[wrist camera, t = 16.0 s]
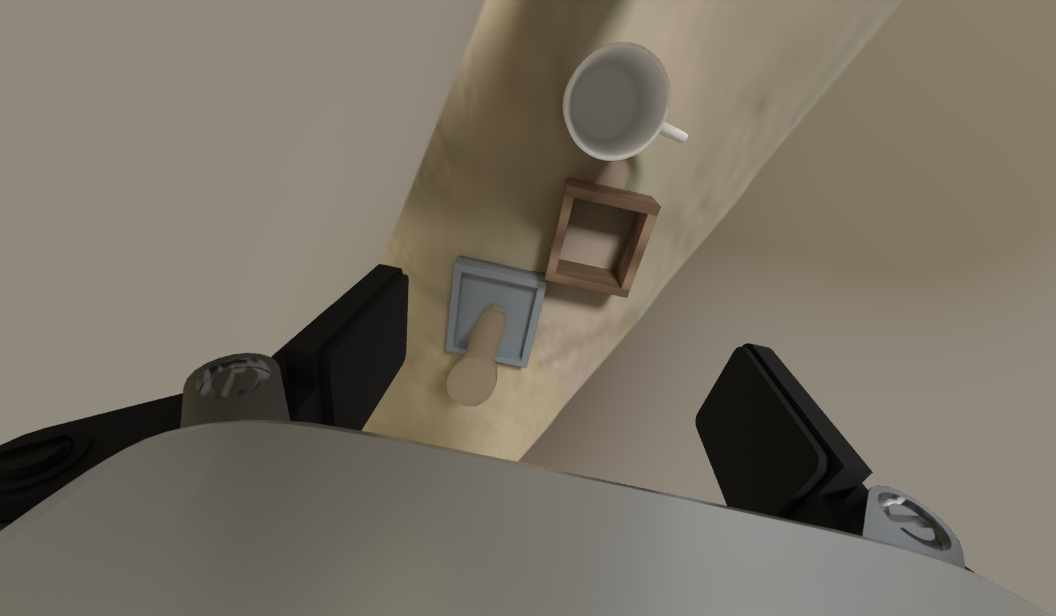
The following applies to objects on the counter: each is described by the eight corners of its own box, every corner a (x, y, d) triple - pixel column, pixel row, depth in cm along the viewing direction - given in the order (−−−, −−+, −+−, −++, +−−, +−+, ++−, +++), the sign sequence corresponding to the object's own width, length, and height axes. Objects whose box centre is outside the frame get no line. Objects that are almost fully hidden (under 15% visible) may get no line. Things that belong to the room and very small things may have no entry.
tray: (459, 255, 49) (454, 262, 47) (548, 275, 49) (547, 283, 47) (450, 341, 56) (445, 350, 54) (528, 357, 56) (526, 368, 54)
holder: (567, 177, 43) (567, 186, 39) (651, 196, 43) (660, 206, 39) (546, 263, 48) (544, 279, 44) (621, 280, 48) (627, 297, 44)
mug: (688, 99, 38) (734, 99, 28) (639, 176, 42) (663, 201, 32) (589, 37, 36) (598, 11, 26) (548, 124, 40) (541, 131, 30)
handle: (520, 301, 50) (504, 370, 37) (502, 337, 53) (481, 412, 40) (487, 287, 50) (459, 351, 37) (471, 323, 53) (439, 395, 40)
